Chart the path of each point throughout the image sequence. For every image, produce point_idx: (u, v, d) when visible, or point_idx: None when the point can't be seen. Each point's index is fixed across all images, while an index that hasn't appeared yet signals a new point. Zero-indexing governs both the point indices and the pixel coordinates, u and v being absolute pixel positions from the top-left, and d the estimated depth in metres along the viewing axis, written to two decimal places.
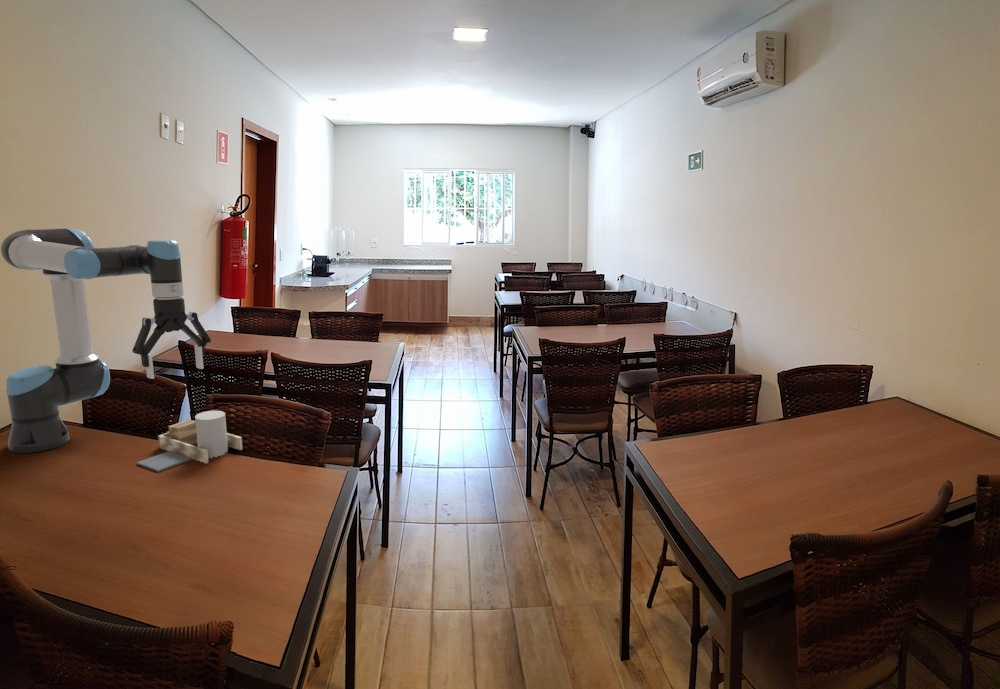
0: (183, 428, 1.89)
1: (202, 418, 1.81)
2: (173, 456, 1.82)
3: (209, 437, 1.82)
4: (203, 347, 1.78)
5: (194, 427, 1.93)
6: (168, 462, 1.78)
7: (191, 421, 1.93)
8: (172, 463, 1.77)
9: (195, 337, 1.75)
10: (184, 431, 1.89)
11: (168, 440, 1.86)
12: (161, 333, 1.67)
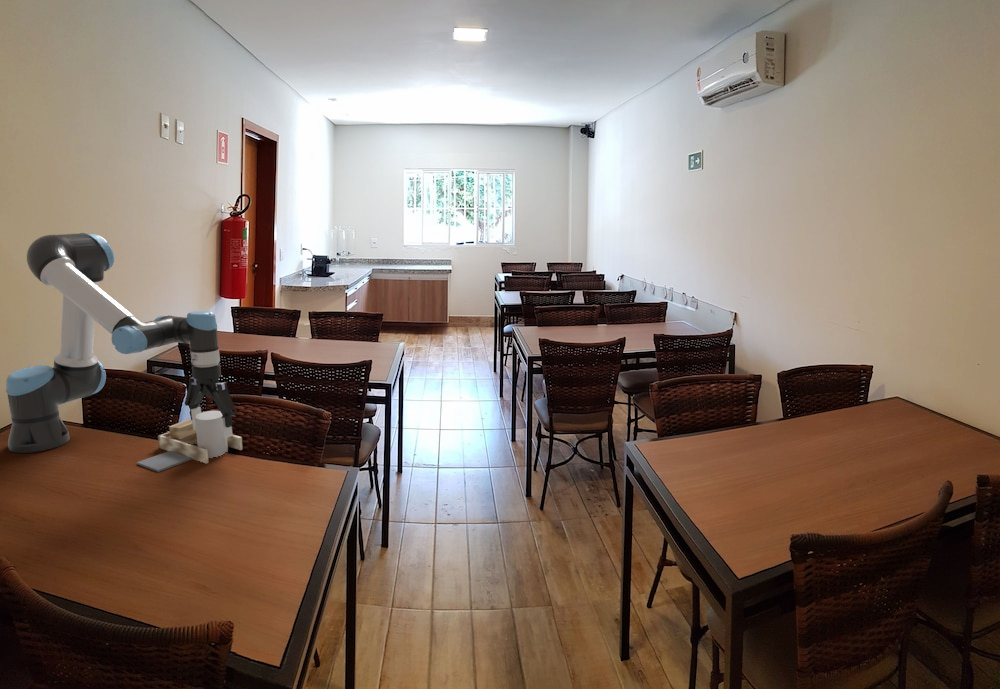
0: (184, 428, 1.89)
1: (202, 418, 1.81)
2: (173, 456, 1.82)
3: (209, 437, 1.82)
4: (226, 419, 1.80)
5: None
6: (168, 462, 1.78)
7: (191, 421, 1.94)
8: (172, 463, 1.77)
9: (219, 407, 1.80)
10: (185, 430, 1.90)
11: (168, 440, 1.86)
12: (196, 394, 1.83)
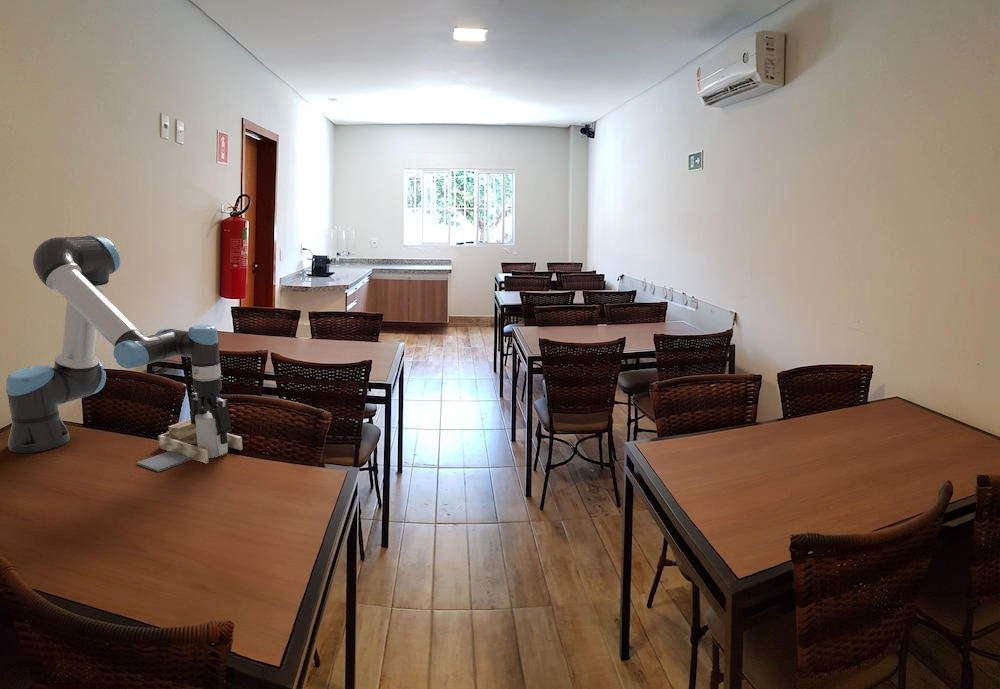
0: (183, 428, 1.89)
1: (202, 418, 1.81)
2: (173, 456, 1.82)
3: (209, 437, 1.82)
4: (221, 436, 1.82)
5: (194, 427, 1.93)
6: (168, 462, 1.78)
7: None
8: (172, 463, 1.77)
9: None
10: (184, 431, 1.90)
11: (168, 440, 1.86)
12: (199, 409, 1.84)
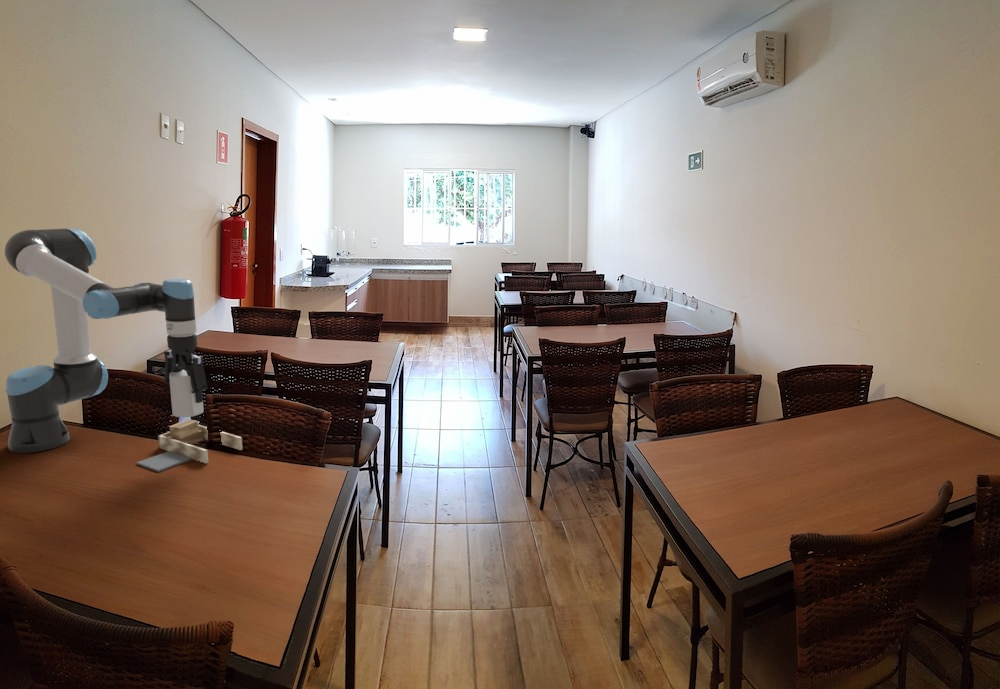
0: (184, 428, 1.89)
1: (176, 375, 1.75)
2: (173, 456, 1.82)
3: (184, 395, 1.76)
4: (197, 394, 1.76)
5: (195, 426, 1.93)
6: (168, 462, 1.78)
7: (191, 421, 1.94)
8: (172, 463, 1.77)
9: None
10: (185, 430, 1.90)
11: (168, 440, 1.86)
12: (173, 366, 1.78)
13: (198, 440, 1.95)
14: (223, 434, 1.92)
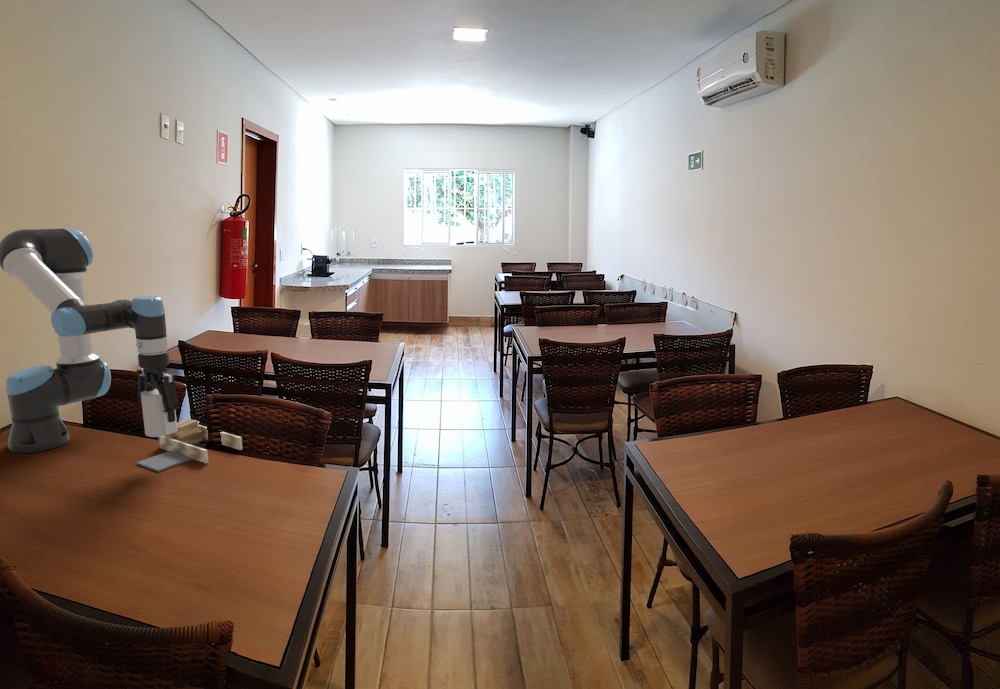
0: (184, 427, 1.90)
1: (148, 394, 1.72)
2: (173, 456, 1.82)
3: (156, 414, 1.72)
4: (169, 413, 1.73)
5: (194, 426, 1.93)
6: (168, 462, 1.78)
7: (191, 420, 1.94)
8: (172, 463, 1.77)
9: (162, 399, 1.72)
10: (184, 430, 1.90)
11: (168, 440, 1.86)
12: (145, 385, 1.74)
13: (198, 440, 1.95)
14: (223, 434, 1.92)
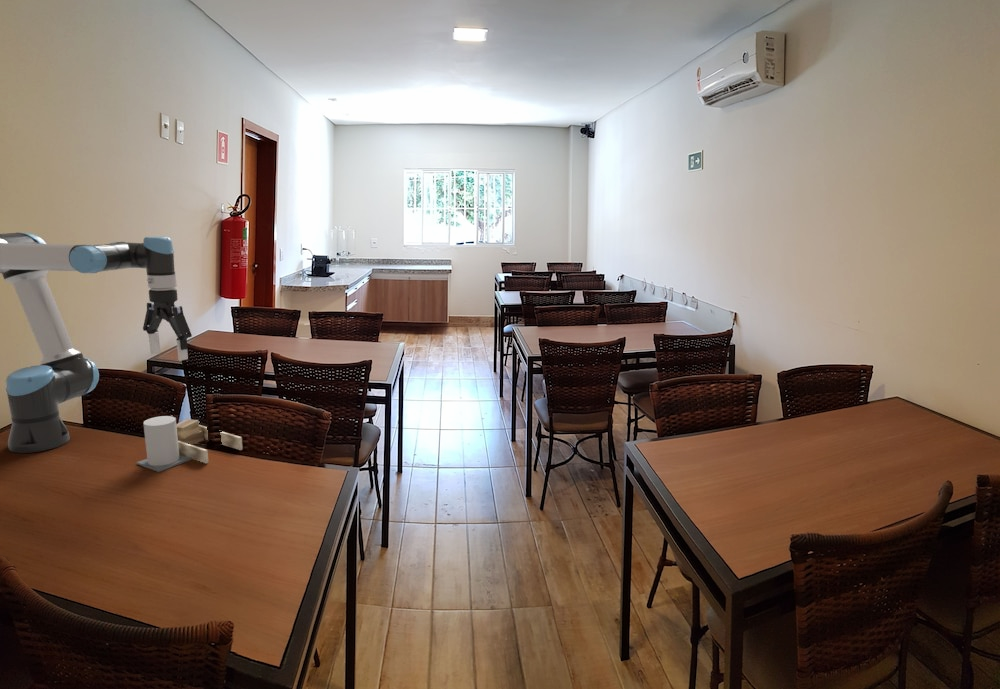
0: (187, 427, 1.90)
1: (150, 424, 1.74)
2: None
3: (158, 443, 1.74)
4: (181, 341, 1.86)
5: (196, 426, 1.94)
6: None
7: (192, 420, 1.94)
8: (172, 463, 1.77)
9: (174, 329, 1.86)
10: (187, 430, 1.90)
11: None
12: (153, 318, 1.89)
13: (198, 440, 1.95)
14: (223, 434, 1.92)
